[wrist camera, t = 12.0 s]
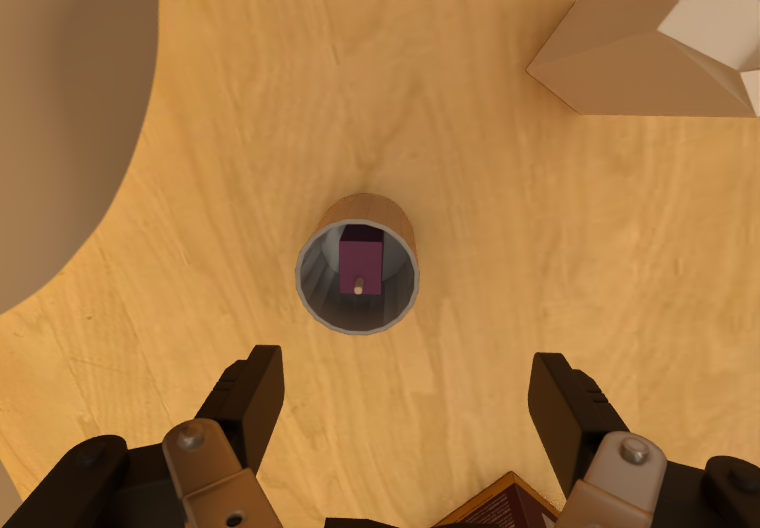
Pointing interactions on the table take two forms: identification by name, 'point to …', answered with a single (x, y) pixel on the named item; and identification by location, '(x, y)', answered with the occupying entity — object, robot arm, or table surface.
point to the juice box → (361, 259)
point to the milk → (655, 58)
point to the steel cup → (322, 268)
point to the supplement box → (507, 507)
